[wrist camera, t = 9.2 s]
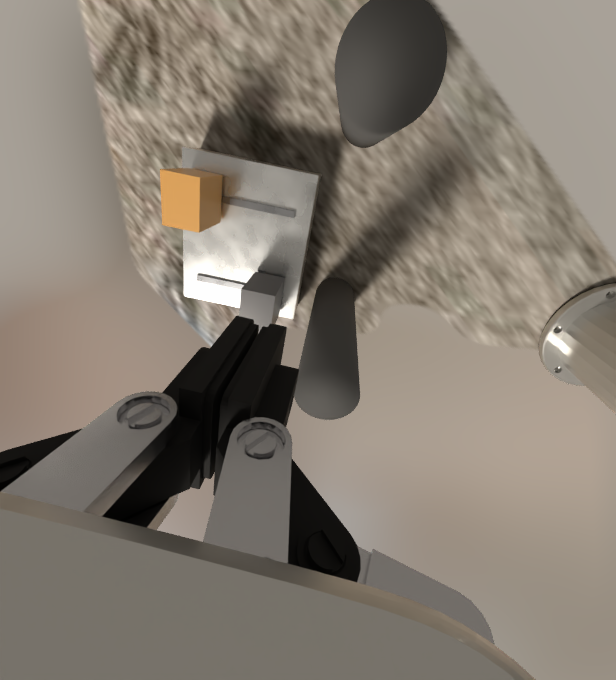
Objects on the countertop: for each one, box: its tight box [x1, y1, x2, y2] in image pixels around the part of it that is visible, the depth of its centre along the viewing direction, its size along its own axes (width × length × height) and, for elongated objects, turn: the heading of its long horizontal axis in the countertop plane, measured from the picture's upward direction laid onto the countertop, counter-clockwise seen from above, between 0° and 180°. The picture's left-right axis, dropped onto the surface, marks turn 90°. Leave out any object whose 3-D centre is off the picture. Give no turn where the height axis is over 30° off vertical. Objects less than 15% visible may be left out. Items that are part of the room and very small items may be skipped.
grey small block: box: [239, 272, 285, 334], centre depth 31 cm, size 3×4×5 cm
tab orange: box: [160, 168, 223, 233], centre depth 27 cm, size 3×4×5 cm
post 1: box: [294, 278, 360, 420], centre depth 29 cm, size 4×4×18 cm
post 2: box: [335, 0, 447, 148], centre depth 21 cm, size 4×4×18 cm
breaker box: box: [182, 147, 322, 319], centre depth 33 cm, size 12×14×4 cm
